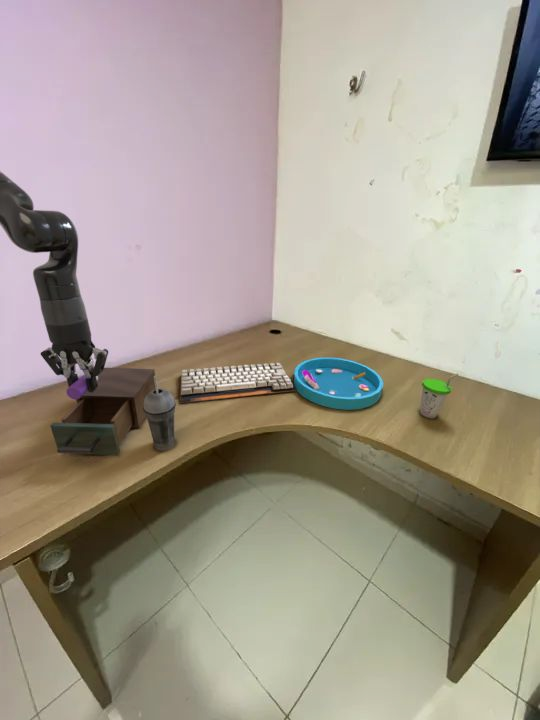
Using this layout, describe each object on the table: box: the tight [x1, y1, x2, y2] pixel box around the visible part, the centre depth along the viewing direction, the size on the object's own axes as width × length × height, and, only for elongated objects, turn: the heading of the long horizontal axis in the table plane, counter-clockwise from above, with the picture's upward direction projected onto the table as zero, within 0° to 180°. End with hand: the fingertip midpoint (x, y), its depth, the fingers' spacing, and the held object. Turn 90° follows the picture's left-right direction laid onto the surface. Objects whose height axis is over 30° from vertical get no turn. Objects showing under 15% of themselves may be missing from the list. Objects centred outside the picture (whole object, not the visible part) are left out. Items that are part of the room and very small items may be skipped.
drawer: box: [50, 398, 135, 456], centre depth 75 cm, size 19×14×8 cm
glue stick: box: [65, 374, 98, 400], centre depth 70 cm, size 8×3×3 cm, turn 1°
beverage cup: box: [143, 375, 177, 452], centre depth 73 cm, size 7×7×20 cm
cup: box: [419, 373, 459, 419], centre depth 91 cm, size 8×8×15 cm
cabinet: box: [75, 367, 156, 429], centre depth 88 cm, size 16×15×10 cm
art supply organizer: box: [293, 357, 384, 411], centre depth 107 cm, size 30×30×6 cm
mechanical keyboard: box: [179, 362, 296, 405], centre depth 106 cm, size 38×19×3 cm, turn 105°
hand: (84, 390), depth 71 cm, fingers closed on glue stick, 3 cm apart
